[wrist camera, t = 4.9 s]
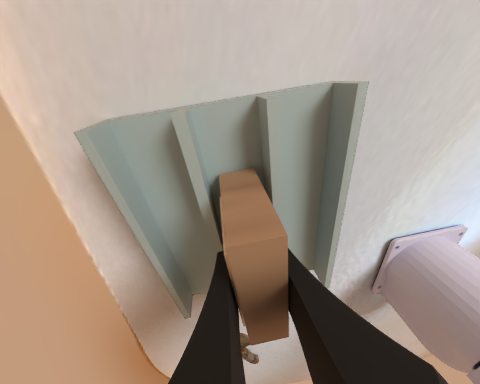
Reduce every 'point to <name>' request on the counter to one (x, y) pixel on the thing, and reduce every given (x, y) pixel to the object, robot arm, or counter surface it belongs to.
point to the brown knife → (245, 353)
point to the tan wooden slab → (255, 255)
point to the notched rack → (228, 160)
